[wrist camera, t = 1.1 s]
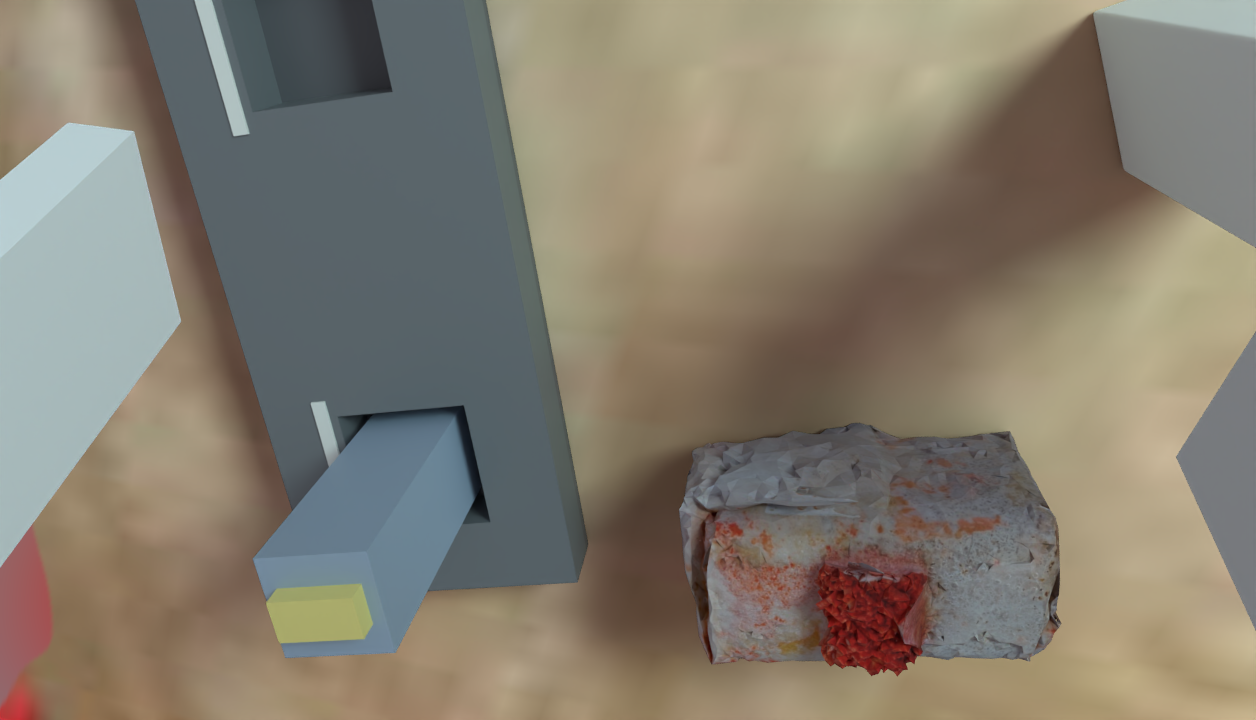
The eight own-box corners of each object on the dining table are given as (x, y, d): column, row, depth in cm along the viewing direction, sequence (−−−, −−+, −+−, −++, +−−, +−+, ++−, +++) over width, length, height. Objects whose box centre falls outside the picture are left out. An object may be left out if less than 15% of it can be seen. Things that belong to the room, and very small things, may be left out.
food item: (705, 572, 46) (692, 725, 37) (685, 415, 43) (665, 539, 34) (1016, 557, 44) (1084, 716, 34) (1016, 391, 41) (1091, 517, 32)
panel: (588, 544, 46) (577, 583, 43) (344, 560, 48) (318, 598, 45) (450, -185, 35) (423, -198, 32) (143, -126, 37) (92, -133, 34)
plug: (485, 479, 44) (387, 668, 33) (400, 486, 45) (275, 673, 33) (466, 398, 43) (357, 565, 31) (379, 406, 44) (241, 572, 32)
